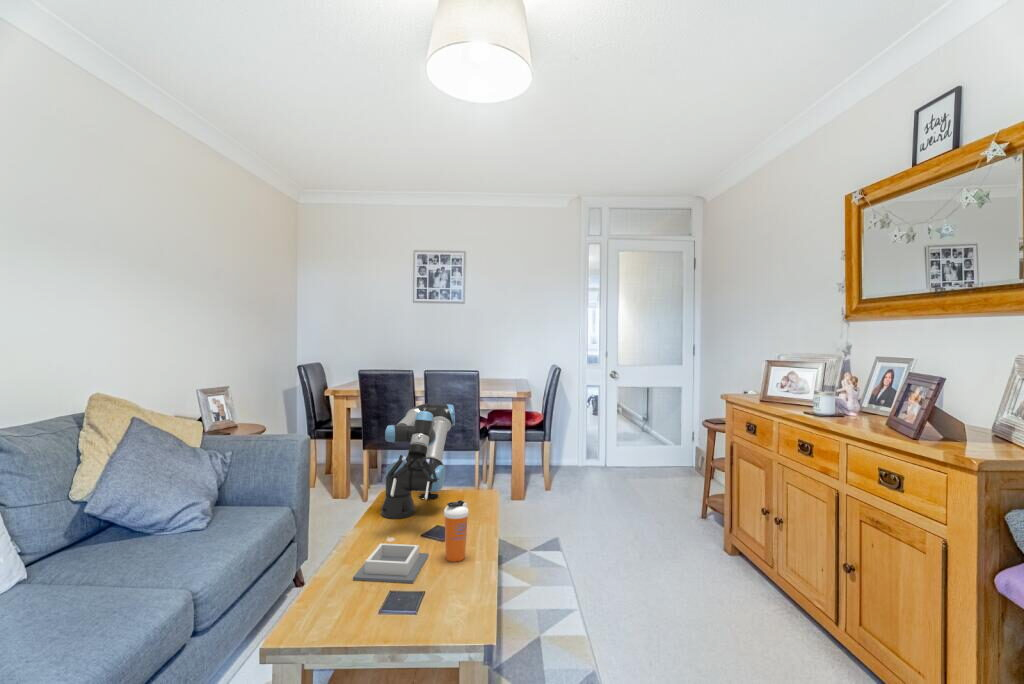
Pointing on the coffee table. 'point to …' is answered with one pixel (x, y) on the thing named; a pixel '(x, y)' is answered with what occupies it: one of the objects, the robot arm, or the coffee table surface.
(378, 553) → the holder
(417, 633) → the coffee table surface
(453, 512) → the shaker bottle
